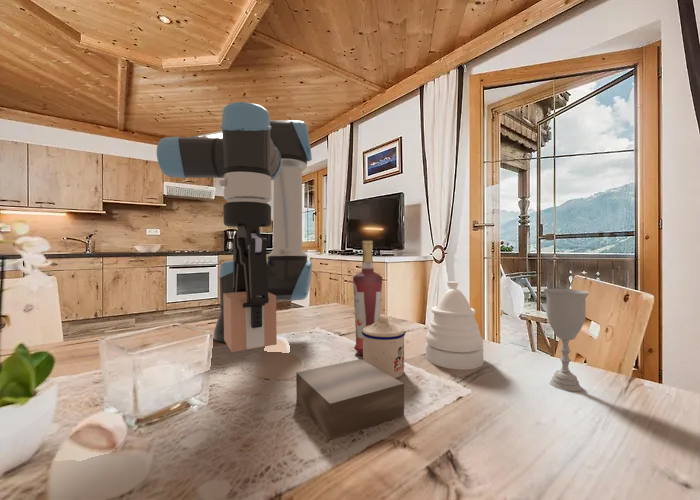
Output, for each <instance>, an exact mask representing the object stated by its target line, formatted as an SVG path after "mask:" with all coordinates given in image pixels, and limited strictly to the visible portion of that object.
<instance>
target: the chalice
mask: <svg viewBox="0 0 700 500" xmlns="http://www.w3.org/2000/svg"><path fill="white" fill-rule="evenodd" d="M543 292H544V294H545V296H546V317H547V321H548V323H549V325H550V327H551V329H552V330H553V333H554V334H555V336H556V338H558V339H560V340H561V343H562V344H561V348H560V351H561V354H562V355H561V357H560V358H559V360H560V361H561V365H562V366H561V368H560V370H556V371H555V372H553V376H551V379H550V381H549V384H550V385H551V386H553V387H554V388H557V389H560V390H564V391H570V392H578V391H579V392H580V391H582V386H581V385H580V382H579V380H578V377H577V376H576V375H575V374H574V372H571V370H570V368H569V364H570V363H571V362H572V360H571V359H570V357H569V354H570V353H571V352H572V351H571V349H570V347H569V346H570V345H569V342H570V341H572V340H575V339H576V338H577V336H578V334H579V333H580V331H581V329H582V328H583V326H584V323H585V321H586V319H587V318H586V313H587V311H586V307H587V306H586V304H587V303H586V302H587V301H586V298H587V297H588V295H589V294H590V292H589V291H587V290H580V289H572V288H544V289H543Z"/></svg>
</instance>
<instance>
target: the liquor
mask: <svg viewBox="0 0 700 500" xmlns="http://www.w3.org/2000/svg"><path fill="white" fill-rule="evenodd" d="M361 247H362V248H361V249H362V263H361V271H360V272H359V273H356V274H355V275H354V276H353V277H352V285H353V287H352V288H353V304H354V322H355V323H354V324H355V325H354V326H355V345H354V347H353V349H354V350H355V351H356V353H358V355H361V356H363V334H362V330H363V328H364V327H366V326H368V325H372V324H373V323H375V322H377V321H379V317H382V316H381V315H382V314H381V313H382V299H383V298H382V297H383V295H382V293H383V277H382V276H381V274H379V273H377V272H374V271H375V270H374V262H373V249H374V241H373V240H362V241H361Z"/></svg>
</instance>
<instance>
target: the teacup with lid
mask: <svg viewBox="0 0 700 500" xmlns="http://www.w3.org/2000/svg"><path fill="white" fill-rule="evenodd" d="M362 334H363V355H362V360H363V361H365V362H367V363H368V364H370V365H372V366H374V367H376V368H377V369H379V370H381V371H383V372H384V373H386V374H388V375H390V376H392V377H393V378H395V379H398V378H399V379H400V378H401V377H402V376H403V375H404V374H405V335H406V332H405V329H404V328H403V327H402V326H399V325H397V324H395V323H393V322H391V321H389V318H388V317H387V316H381V317H379V321H377V322H375V323H373V324H372V325H368V326H366V327H364V328H363V330H362Z"/></svg>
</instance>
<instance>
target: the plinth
mask: <svg viewBox="0 0 700 500" xmlns="http://www.w3.org/2000/svg"><path fill="white" fill-rule="evenodd" d="M295 377H296V379H295V380H296V385H295V386H296V391H295V392H296V395H295V396H296V397H295V398H296V399H295V400H296V403H298V405H299V406H300V407H301V408H302V410H304V412H305V413H306V414H307V415H308V416H309V417H310V418H311V420H312V421H313V422H314V423H315V424H316V425H317V426H318V428H319V429H320V430H321V431H322V432H323V433H324V434H325V436H327V438H328V439H329V440H334V439H336V438H340V437H343V436H345V435H348V434H352V433H354V432H357V431H361V430H363V429H364V430H365V429H367V428H369V427H372V426H375V425H378V424H381V423H384V422H387V421H391V420H394V419H395V418H396V419H397V418H399V417H402V416H405V383H404V382H402V381H400V380H399V379H398V378H396V379H395V378H393V377H392V376H390V375H388V374H386V373H384V372H383V371H381V370H379V369H377V368H376V367H374V366H372V365H370V364H368V363H367V362H365V361H363V359H361V358H359V359H353V360H349V361H345V362H339V363H335V364H331V365H326V366H321V367H316V368H312V369H305V370H301V371H296V375H295Z"/></svg>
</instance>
